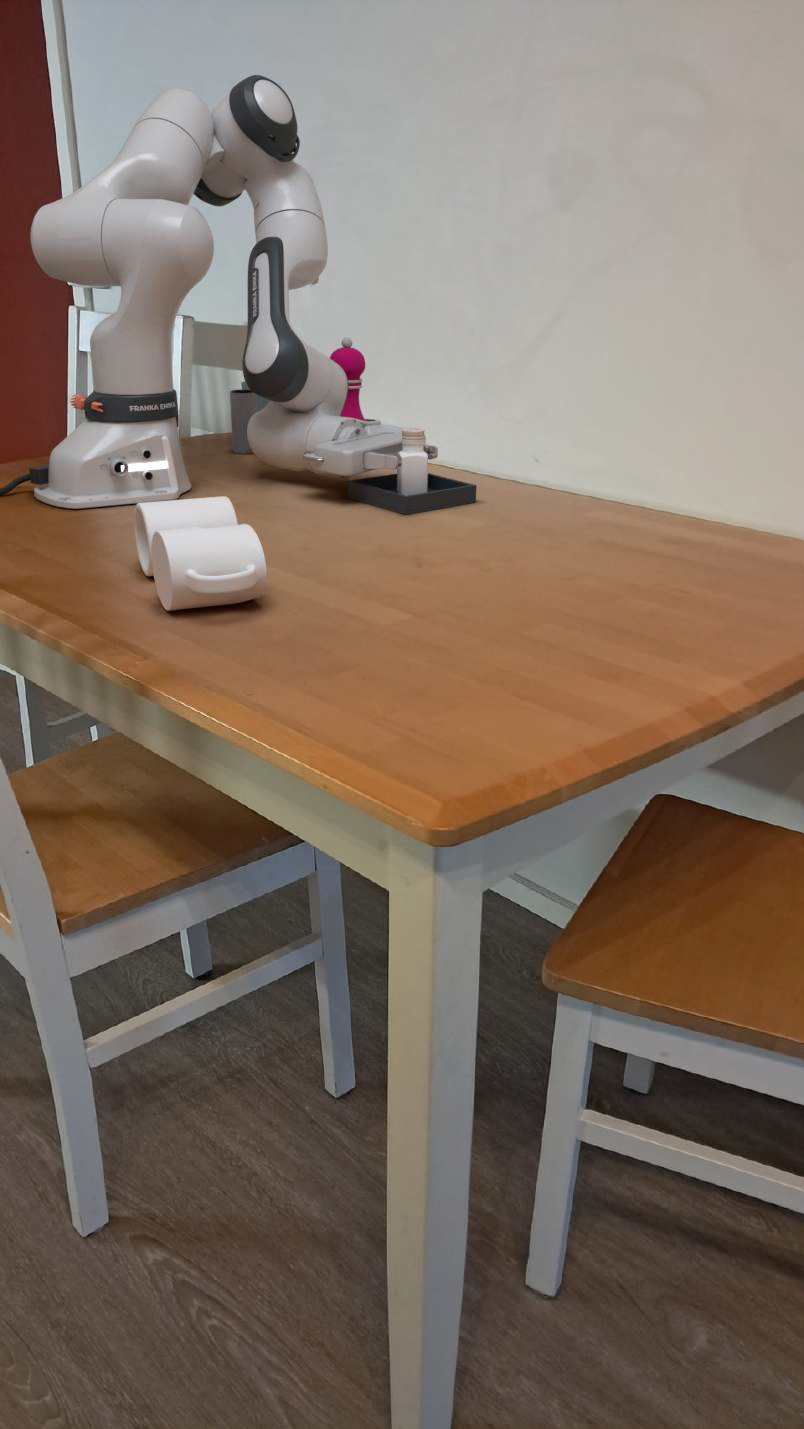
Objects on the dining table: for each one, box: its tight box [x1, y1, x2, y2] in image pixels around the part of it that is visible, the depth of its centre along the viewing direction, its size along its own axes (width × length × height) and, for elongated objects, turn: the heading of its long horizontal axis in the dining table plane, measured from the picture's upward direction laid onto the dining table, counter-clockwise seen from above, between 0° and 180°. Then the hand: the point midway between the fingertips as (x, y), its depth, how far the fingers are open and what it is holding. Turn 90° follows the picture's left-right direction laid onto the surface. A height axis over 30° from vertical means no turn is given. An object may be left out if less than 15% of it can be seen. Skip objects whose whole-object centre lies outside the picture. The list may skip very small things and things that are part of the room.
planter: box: [229, 389, 257, 455], centre depth 186 cm, size 4×4×10 cm
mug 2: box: [151, 523, 268, 612], centre depth 107 cm, size 12×9×8 cm
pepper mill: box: [329, 336, 366, 419], centre depth 177 cm, size 7×7×20 cm
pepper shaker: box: [396, 427, 429, 496], centre depth 153 cm, size 4×4×10 cm
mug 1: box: [133, 495, 239, 577], centre depth 120 cm, size 12×10×8 cm
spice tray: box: [347, 472, 478, 516], centre depth 154 cm, size 13×13×2 cm
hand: (417, 457), depth 152 cm, fingers open, 8 cm apart
